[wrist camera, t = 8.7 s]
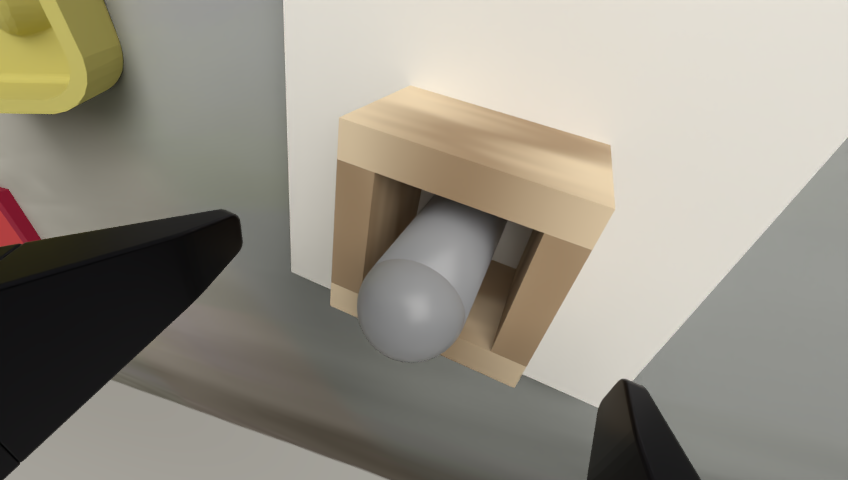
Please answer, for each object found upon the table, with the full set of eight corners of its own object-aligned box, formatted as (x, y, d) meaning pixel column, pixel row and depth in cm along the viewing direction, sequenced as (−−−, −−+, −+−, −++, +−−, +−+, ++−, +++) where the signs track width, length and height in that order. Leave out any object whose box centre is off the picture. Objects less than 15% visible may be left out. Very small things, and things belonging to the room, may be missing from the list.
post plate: (903, 14, 8) (2003, 65, 2) (605, 381, 16) (609, 627, 10) (313, -108, 11) (-76, -255, 5) (310, 255, 19) (166, 382, 13)
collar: (610, 145, 10) (615, 208, 7) (534, 299, 14) (514, 388, 11) (410, 85, 11) (338, 117, 8) (386, 241, 15) (330, 305, 12)
